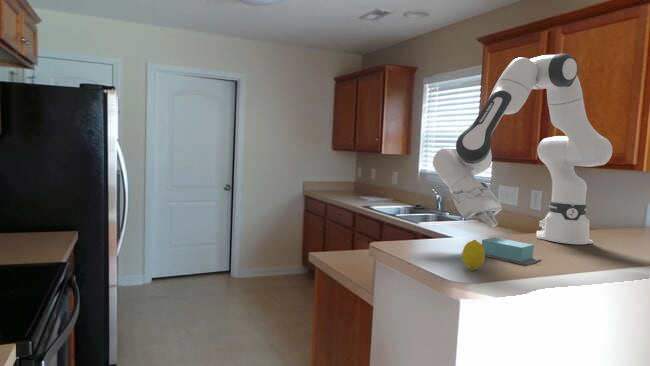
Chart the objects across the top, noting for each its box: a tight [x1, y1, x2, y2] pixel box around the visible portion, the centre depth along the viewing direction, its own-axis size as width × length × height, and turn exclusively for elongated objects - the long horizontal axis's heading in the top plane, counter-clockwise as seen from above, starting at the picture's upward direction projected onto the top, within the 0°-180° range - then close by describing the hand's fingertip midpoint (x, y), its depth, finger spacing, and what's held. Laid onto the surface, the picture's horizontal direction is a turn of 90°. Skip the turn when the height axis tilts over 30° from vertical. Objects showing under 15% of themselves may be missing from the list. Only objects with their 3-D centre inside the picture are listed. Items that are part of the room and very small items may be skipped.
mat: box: [485, 254, 542, 266], centre depth 131 cm, size 13×10×1 cm
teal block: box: [481, 237, 535, 262], centre depth 132 cm, size 4×8×12 cm
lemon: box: [461, 239, 486, 271], centre depth 113 cm, size 6×6×8 cm
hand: (494, 225), depth 135 cm, fingers closed
